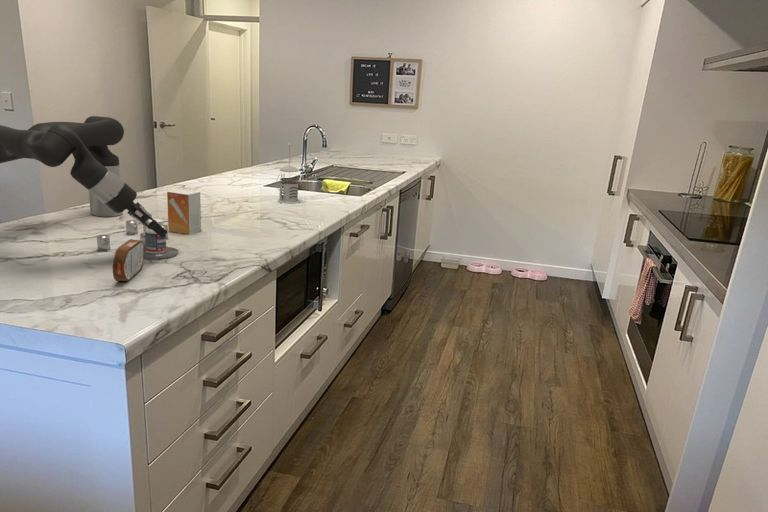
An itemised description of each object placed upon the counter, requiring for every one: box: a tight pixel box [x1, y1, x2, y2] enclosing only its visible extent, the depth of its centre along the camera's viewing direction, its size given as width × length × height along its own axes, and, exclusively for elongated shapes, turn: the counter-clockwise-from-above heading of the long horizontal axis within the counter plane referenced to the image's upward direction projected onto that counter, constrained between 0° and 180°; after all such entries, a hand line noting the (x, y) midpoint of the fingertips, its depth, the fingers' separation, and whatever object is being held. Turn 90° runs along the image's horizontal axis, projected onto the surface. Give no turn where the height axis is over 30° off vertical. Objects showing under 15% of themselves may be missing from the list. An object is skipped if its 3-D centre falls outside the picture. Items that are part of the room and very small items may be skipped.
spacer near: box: [96, 234, 111, 252], centre depth 154 cm, size 3×3×4 cm
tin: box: [112, 238, 145, 282], centre depth 135 cm, size 15×3×8 cm, turn 5°
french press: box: [276, 142, 301, 205], centre depth 233 cm, size 10×12×25 cm
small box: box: [166, 188, 202, 235], centre depth 178 cm, size 8×6×13 cm
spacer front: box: [162, 224, 169, 240], centre depth 169 cm, size 3×3×4 cm
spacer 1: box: [125, 219, 139, 236], centre depth 172 cm, size 3×3×4 cm
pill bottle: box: [145, 218, 167, 254], centre depth 153 cm, size 5×5×9 cm
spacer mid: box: [142, 225, 148, 233], centre depth 171 cm, size 3×3×4 cm
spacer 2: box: [139, 232, 146, 248], centre depth 159 cm, size 3×3×4 cm
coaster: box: [144, 246, 179, 260], centre depth 154 cm, size 11×11×1 cm
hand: (161, 230), depth 153 cm, fingers open, 8 cm apart
